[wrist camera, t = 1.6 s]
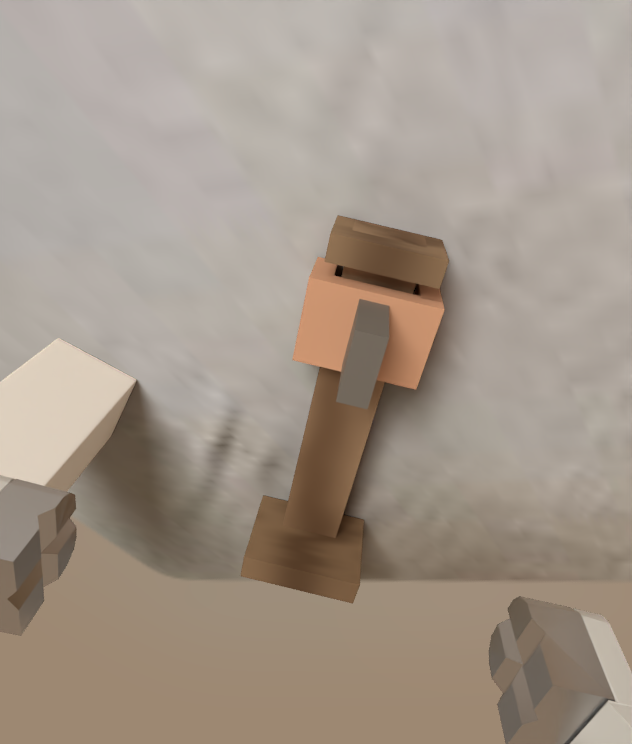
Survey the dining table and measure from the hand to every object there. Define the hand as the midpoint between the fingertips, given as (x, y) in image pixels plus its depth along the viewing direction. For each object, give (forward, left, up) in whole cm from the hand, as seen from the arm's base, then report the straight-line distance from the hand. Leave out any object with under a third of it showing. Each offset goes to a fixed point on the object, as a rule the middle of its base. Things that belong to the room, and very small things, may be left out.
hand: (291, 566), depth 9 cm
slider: (-2, +4, -23) cm, 23 cm away
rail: (-2, +11, -23) cm, 26 cm away
